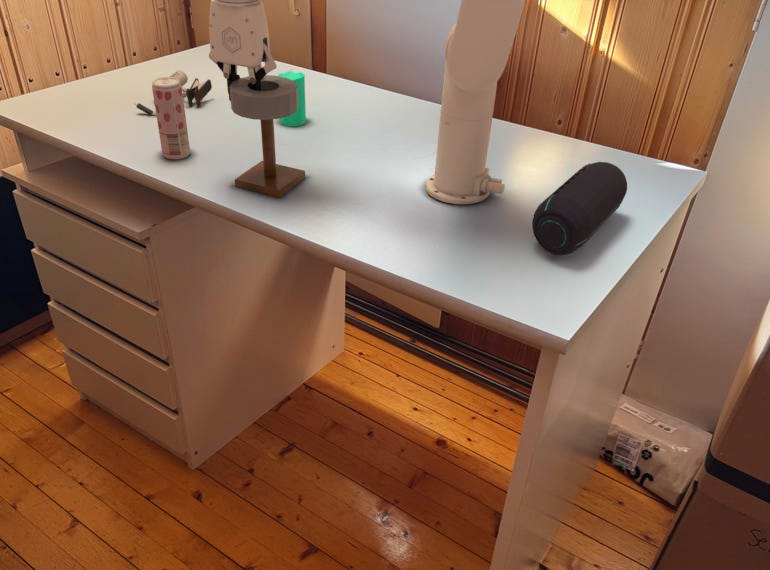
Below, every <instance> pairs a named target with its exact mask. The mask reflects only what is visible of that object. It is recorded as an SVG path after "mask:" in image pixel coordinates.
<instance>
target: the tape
mask: <svg viewBox="0 0 770 570" xmlns="http://www.w3.org/2000/svg"><path fill="white" fill-rule="evenodd" d="M248 83H250V78H249V75H248V76H244V77H240V78H239V79H237V80H235V81H233V82H232V83H231V85H230V98H231V101H230V108H231V110H232V112H233V114H234V115H237V116H239V117H241V118H245V119H250V120H258V121H261V120H271V119H273V120H280V118H284V117H287V116H291V115H292V114H294V113H295V112H297V109H298V85H297V84H296V83H295V82H294V81H293V80H290V79H288V78H285V77H280V76H278V75H271V74H266V75H265V76H264V77H263V79H262V80H261V91H256V90H252V89H250V88H249V87H248Z"/></svg>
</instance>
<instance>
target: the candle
mask: <svg viewBox="0 0 770 570" xmlns="http://www.w3.org/2000/svg"><path fill="white" fill-rule="evenodd" d="M277 76H280V77H285V78H288V79H290V80H293V81H294V82H295V83H296V84H297V85H298V109H297V112H295V113H294V114H292V115H291V116H287V117H284V118H280V119H279V122H280V124H281V125H283V126H286V127H300V126H303V125H305V124H306V123H307V121H306V119H307V118H306V117H307V116H306V81H305V80H306V79H305V78H306V77H305V76H306V75H305V73H303V72H294V71H293V70H290V71H285V72H282V73H278V75H277Z"/></svg>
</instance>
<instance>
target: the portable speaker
mask: <svg viewBox="0 0 770 570" xmlns="http://www.w3.org/2000/svg"><path fill="white" fill-rule="evenodd" d="M627 192H628V181H627V178H626V176H625V173H624V172H623V171H622V170H621V168H620V167H618V166H617V165H615V164H613V163H610V162H607V161H597V162H592V163H587V164H585V165H584V166H582V167H581V168H580V169H578V170H577V171H576V172H575V173H574V174H573V175H572V176H570V177H569V178H568V179H567V180H566V181H564V182H563V184H561V185H560V186H558V188H557V189H556V190H554V191H553V192H552V193H550V195H549V196H547V198H545V199H544V200H543V201H542V202H541V203H539V204H538V206H537V208H536V210H535V211H534V214H533V216H532V219H531V227H532V232H533V236H534V238H535V240H536V242H537V243H538V245H539V246H540V247H541V248H542V249H543V250H544V251H546V252H547V253H549V254H551V255H554V256H568V255H571V254H572V253H575V251H577V250H579V249H580V248H582V247H583V246H584V245H585V244H586V243H587V242H588V241H589V240H590V239H591V238H592V237H593V236H594V235H595V233H597V232H598V230H599V229H600V228H601V227H602V226H603V225H604V224H605V223H606V222H607V221H608V219H610V217H612V216H613V214H614V213H615V212H616V211H617V210H618V209H619V207H620V206H621V205H622V203H623V201H624V199H625V197H626V195H627Z"/></svg>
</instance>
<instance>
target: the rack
mask: <svg viewBox="0 0 770 570" xmlns="http://www.w3.org/2000/svg"><path fill="white" fill-rule="evenodd" d="M274 122H275V119H271V120H260V133H261V134H260V135H261V148H262V149H261V150H262V160H260V161H259V162H258V163H256V164H255V165H253V166H252V167H251V168H249V169H247V170H246V171H245V172H243V173H242V174H240V175H238V176H237V177H236V178H234V187H236V188H240V189H244V190H248V191H253V192H256V193H259V194H265V195H268V196H273V197H276V198H281V197H282V196H284V195H285V194H286V193H287V192H289V191H290V190H292V189H293V188H294V187H295V186H296V185H298V184H299V183H300V182H301V181H303V180H304V179H306V170H304V169H299V168H297V167H296V168H295V167H291V166H287V165H282V164H278V163H277V159H276V158H277V157H276V142H275V141H276V140H275V123H274Z"/></svg>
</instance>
